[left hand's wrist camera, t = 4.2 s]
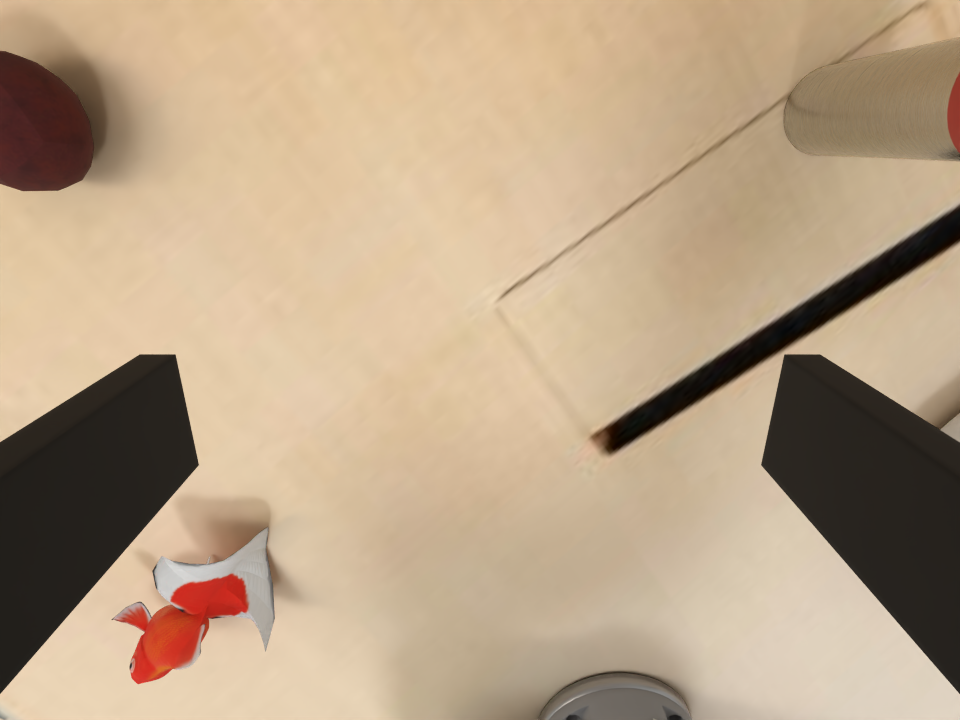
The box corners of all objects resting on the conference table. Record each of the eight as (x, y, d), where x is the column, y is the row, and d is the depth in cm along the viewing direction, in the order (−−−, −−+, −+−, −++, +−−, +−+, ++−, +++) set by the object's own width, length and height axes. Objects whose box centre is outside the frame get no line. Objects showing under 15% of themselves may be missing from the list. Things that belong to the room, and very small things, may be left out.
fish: (54, 596, 44) (46, 704, 36) (226, 466, 48) (251, 541, 40) (154, 648, 51) (165, 749, 43) (298, 531, 54) (332, 605, 47)
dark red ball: (51, 33, 34) (-51, 8, 27) (145, 147, 36) (71, 149, 30) (-28, 107, 36) (-143, 99, 29) (67, 212, 38) (-19, 227, 31)
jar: (803, 56, 35) (1022, -1, 21) (882, 75, 35) (1149, 32, 21) (770, 145, 37) (950, 148, 23) (845, 163, 37) (1068, 176, 23)
